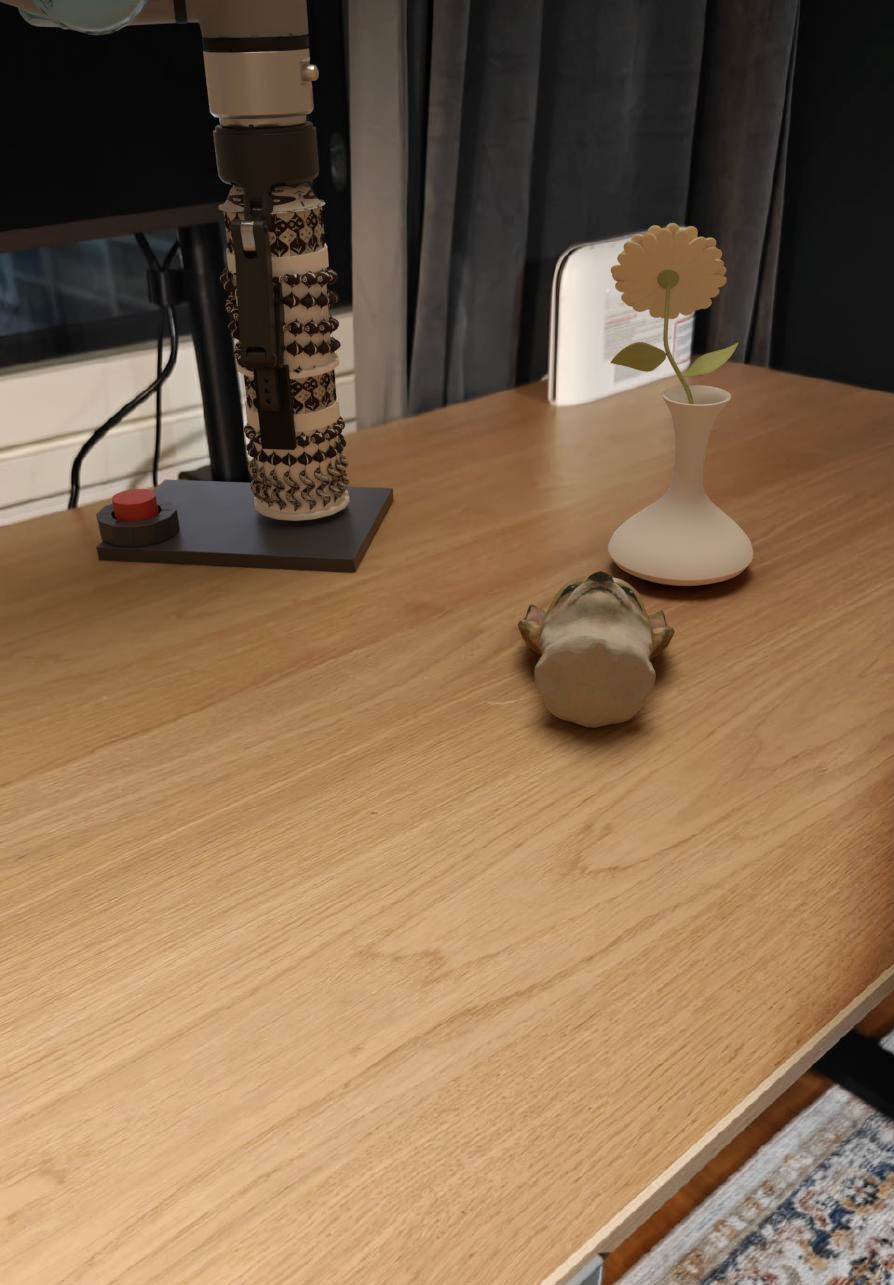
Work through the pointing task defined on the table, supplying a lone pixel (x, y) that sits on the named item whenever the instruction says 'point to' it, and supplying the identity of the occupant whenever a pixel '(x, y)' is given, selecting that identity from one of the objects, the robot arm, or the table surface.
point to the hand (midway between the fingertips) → (294, 430)
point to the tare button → (135, 505)
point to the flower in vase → (678, 417)
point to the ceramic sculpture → (595, 650)
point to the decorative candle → (296, 362)
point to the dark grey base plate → (242, 530)
